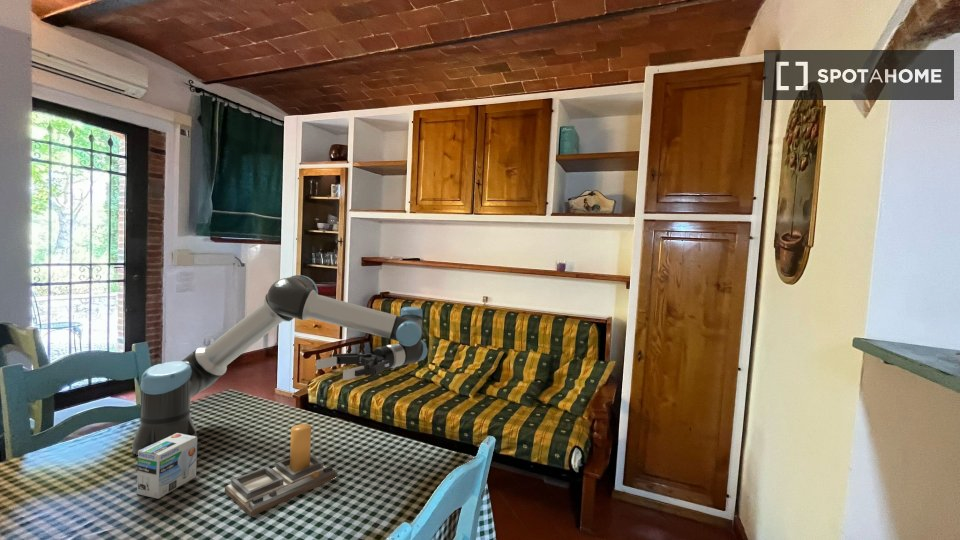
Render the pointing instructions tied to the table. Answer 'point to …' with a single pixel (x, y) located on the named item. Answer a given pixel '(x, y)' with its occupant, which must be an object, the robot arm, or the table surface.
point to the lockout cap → (300, 447)
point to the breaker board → (276, 484)
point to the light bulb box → (166, 465)
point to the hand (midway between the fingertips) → (329, 369)
